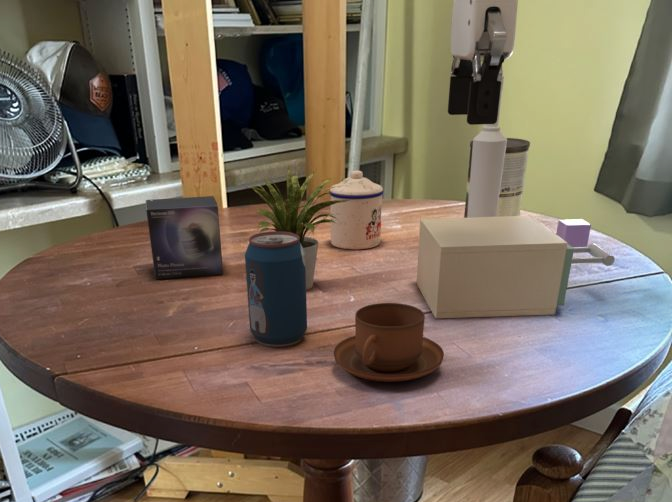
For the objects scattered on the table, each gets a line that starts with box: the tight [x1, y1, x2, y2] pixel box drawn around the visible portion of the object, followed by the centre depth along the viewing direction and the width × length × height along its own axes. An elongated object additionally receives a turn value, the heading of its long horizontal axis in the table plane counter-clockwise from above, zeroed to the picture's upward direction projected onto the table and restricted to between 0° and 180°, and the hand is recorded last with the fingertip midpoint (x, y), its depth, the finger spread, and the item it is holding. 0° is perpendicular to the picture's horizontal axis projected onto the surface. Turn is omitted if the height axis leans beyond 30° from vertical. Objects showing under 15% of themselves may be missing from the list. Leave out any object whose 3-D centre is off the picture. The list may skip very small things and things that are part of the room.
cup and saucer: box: [333, 302, 445, 383], centre depth 76 cm, size 12×12×6 cm
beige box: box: [415, 215, 567, 320], centre depth 94 cm, size 16×15×9 cm
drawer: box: [556, 243, 616, 307], centre depth 94 cm, size 22×13×7 cm, turn 93°
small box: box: [145, 195, 224, 280], centre depth 107 cm, size 11×6×10 cm, turn 102°
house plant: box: [246, 165, 351, 291], centre depth 97 cm, size 14×14×16 cm
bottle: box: [467, 76, 507, 218], centre depth 111 cm, size 5×5×25 cm
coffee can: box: [463, 137, 531, 218], centre depth 127 cm, size 10×10×14 cm
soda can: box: [244, 231, 308, 348], centre depth 82 cm, size 7×7×12 cm
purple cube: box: [555, 218, 592, 247], centre depth 116 cm, size 4×4×4 cm
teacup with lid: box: [328, 170, 384, 250], centre depth 120 cm, size 12×9×12 cm
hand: (470, 118), depth 80 cm, fingers open, 9 cm apart
